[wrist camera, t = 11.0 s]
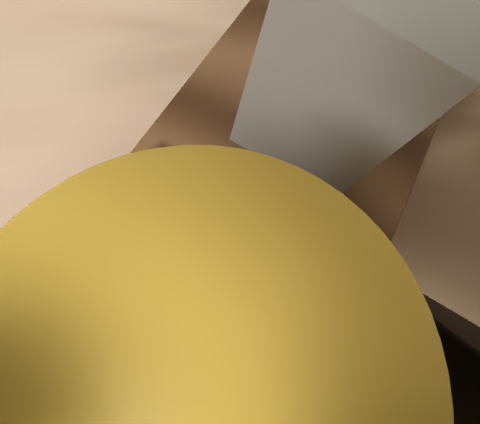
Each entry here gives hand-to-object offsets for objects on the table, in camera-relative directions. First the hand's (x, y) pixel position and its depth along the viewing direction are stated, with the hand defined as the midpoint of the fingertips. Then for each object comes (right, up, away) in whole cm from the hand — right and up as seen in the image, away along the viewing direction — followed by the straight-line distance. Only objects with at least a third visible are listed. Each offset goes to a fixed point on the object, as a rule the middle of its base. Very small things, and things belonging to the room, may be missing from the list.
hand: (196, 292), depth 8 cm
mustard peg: (-1, -4, +7) cm, 8 cm away
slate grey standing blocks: (+6, +10, +12) cm, 17 cm away
